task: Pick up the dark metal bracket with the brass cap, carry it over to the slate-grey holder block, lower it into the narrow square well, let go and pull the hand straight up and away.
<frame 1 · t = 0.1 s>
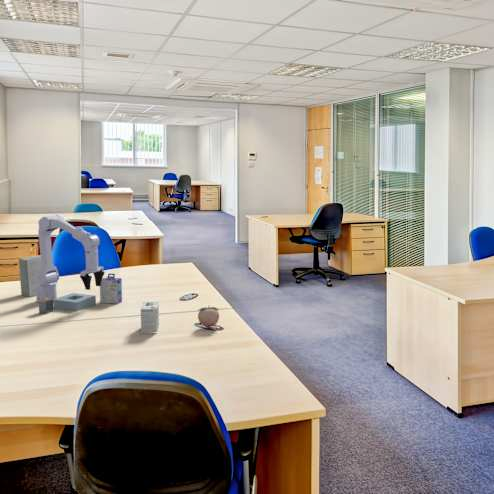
hand: (93, 287, 251), 10 cm above the table, tool pointing down, fingers open, 7 cm apart
decorative fruit: (209, 328, 223), on the table
hard drive box: (37, 293, 279), on the table
well block: (75, 305, 255), on the table
bracket: (46, 312, 244), on the table
light bulb box: (150, 330, 220), on the table
ink cartridge box: (111, 302, 263), on the table
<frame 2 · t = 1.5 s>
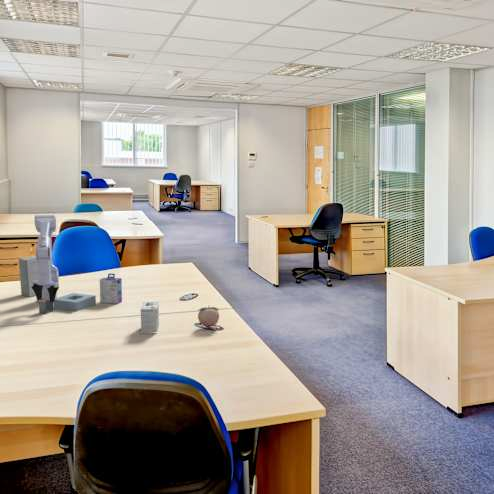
hand: (45, 300, 243), 5 cm above the table, tool pointing down, fingers open, 7 cm apart
nothing on the table moved.
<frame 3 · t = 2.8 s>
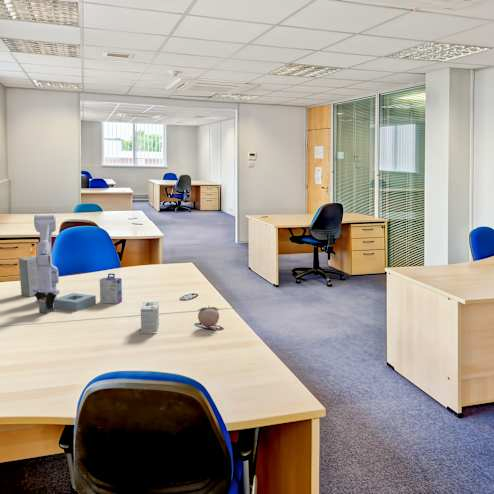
hand: (46, 307, 244), 2 cm above the table, tool pointing down, fingers closed on bracket, 4 cm apart
bracket: (46, 312, 244), on the table, touching gripper
everything else where it was.
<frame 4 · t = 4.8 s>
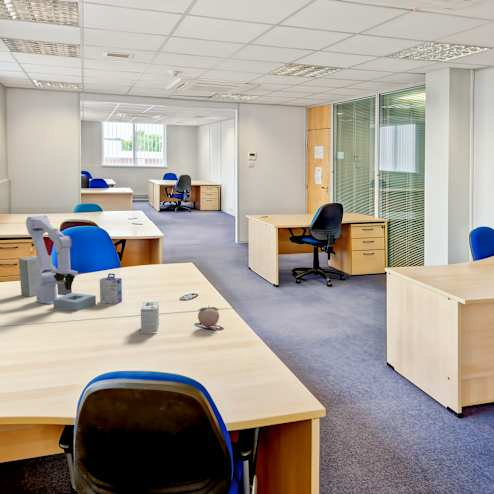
hand: (65, 289, 250), 9 cm above the table, tool pointing down, fingers closed on bracket, 4 cm apart
bracket: (64, 293, 250), point 7 cm above the table, touching gripper
everything else where it was.
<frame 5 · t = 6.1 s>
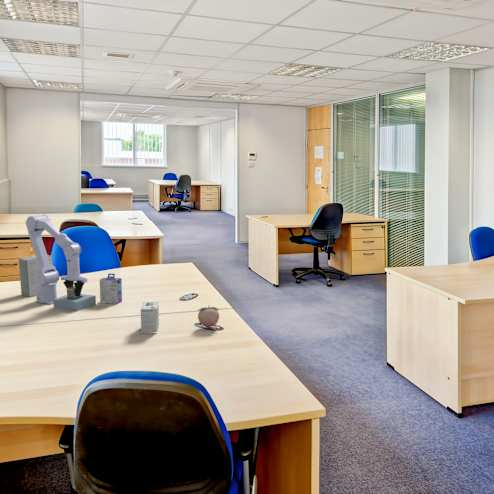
hand: (74, 295, 255), 5 cm above the table, tool pointing down, fingers closed on bracket, 4 cm apart
bracket: (74, 300, 254), point 3 cm above the table, touching gripper
everything else where it was.
when the fingers open (5 cm above the table, at t = 7.1 s): bracket drops 2 cm, resting in well block.
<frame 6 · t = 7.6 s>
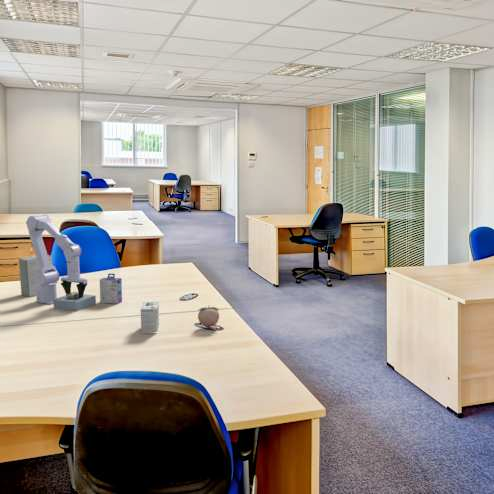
hand: (74, 296, 255), 5 cm above the table, tool pointing down, fingers open, 7 cm apart
bracket: (74, 306, 255), resting in well block
everything else where it was.
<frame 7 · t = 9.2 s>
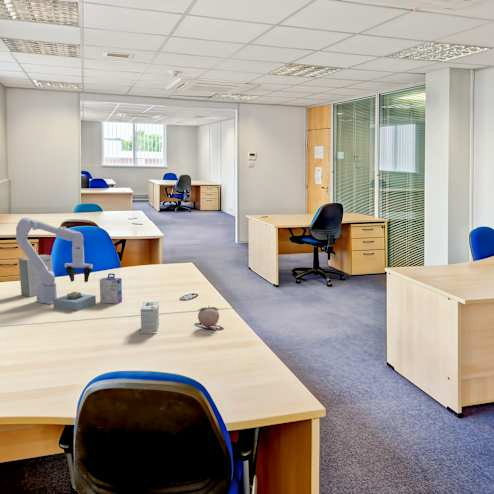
hand: (79, 281, 266), 9 cm above the table, tool pointing down, fingers open, 7 cm apart
nothing on the table moved.
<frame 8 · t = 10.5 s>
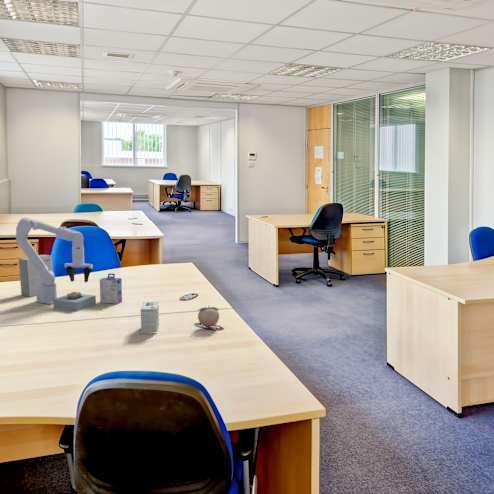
hand: (79, 281, 266), 9 cm above the table, tool pointing down, fingers open, 7 cm apart
nothing on the table moved.
at the end: bracket 0.4 cm off-centre on the well block, point 0.0 cm above the well block's base; bracket tilted 0°; the gripper is holding nothing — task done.
